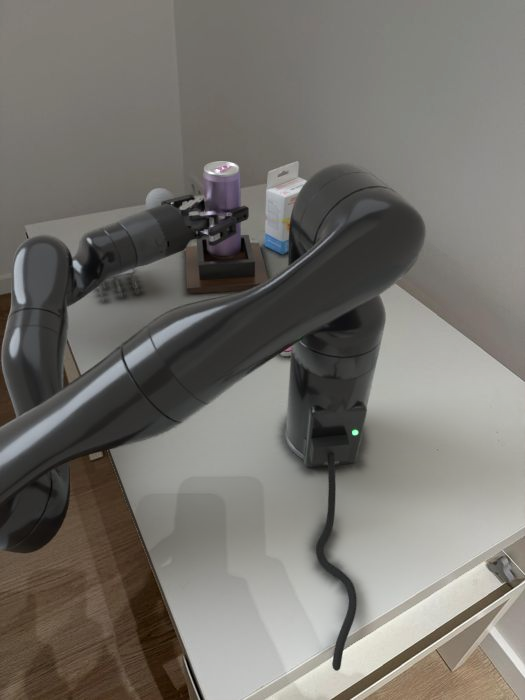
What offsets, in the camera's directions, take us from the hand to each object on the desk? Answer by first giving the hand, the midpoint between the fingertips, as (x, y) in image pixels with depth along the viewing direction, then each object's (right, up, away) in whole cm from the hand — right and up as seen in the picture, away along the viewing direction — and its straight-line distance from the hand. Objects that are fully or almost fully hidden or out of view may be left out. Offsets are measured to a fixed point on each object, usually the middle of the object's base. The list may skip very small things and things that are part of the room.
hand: (234, 205), depth 87 cm
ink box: (+10, -4, +14) cm, 17 cm away
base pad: (-2, -10, +6) cm, 12 cm away
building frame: (-20, -14, +2) cm, 25 cm away
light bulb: (-15, -2, +15) cm, 21 cm away
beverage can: (-2, -7, +4) cm, 9 cm away
